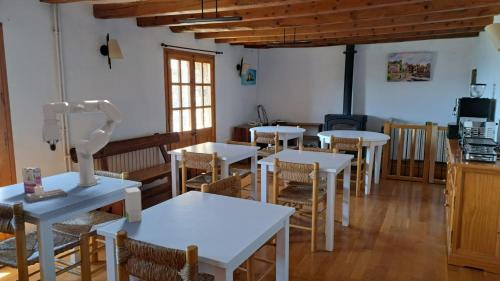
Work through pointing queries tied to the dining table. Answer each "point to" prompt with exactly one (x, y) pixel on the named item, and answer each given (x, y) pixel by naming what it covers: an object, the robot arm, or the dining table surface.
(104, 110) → the robot arm
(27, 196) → the console
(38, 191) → the fader knob
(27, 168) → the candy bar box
